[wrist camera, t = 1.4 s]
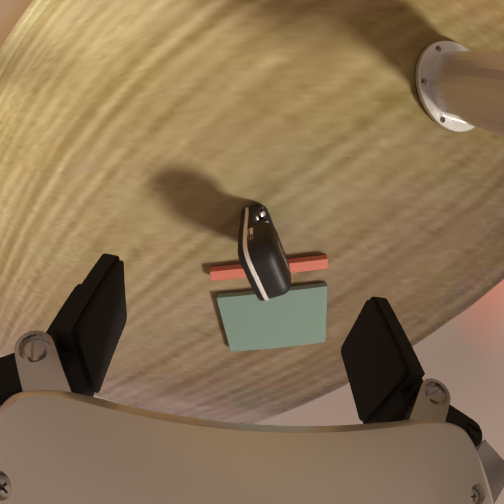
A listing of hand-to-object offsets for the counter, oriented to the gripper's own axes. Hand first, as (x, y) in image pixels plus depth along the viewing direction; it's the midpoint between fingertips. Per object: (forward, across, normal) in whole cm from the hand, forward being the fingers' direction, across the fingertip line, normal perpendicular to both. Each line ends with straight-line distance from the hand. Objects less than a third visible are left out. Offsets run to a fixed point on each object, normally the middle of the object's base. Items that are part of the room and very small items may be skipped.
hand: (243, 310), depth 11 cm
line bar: (+26, -6, +14) cm, 31 cm away
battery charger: (+27, -4, +8) cm, 28 cm away
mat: (+26, -9, +24) cm, 37 cm away
